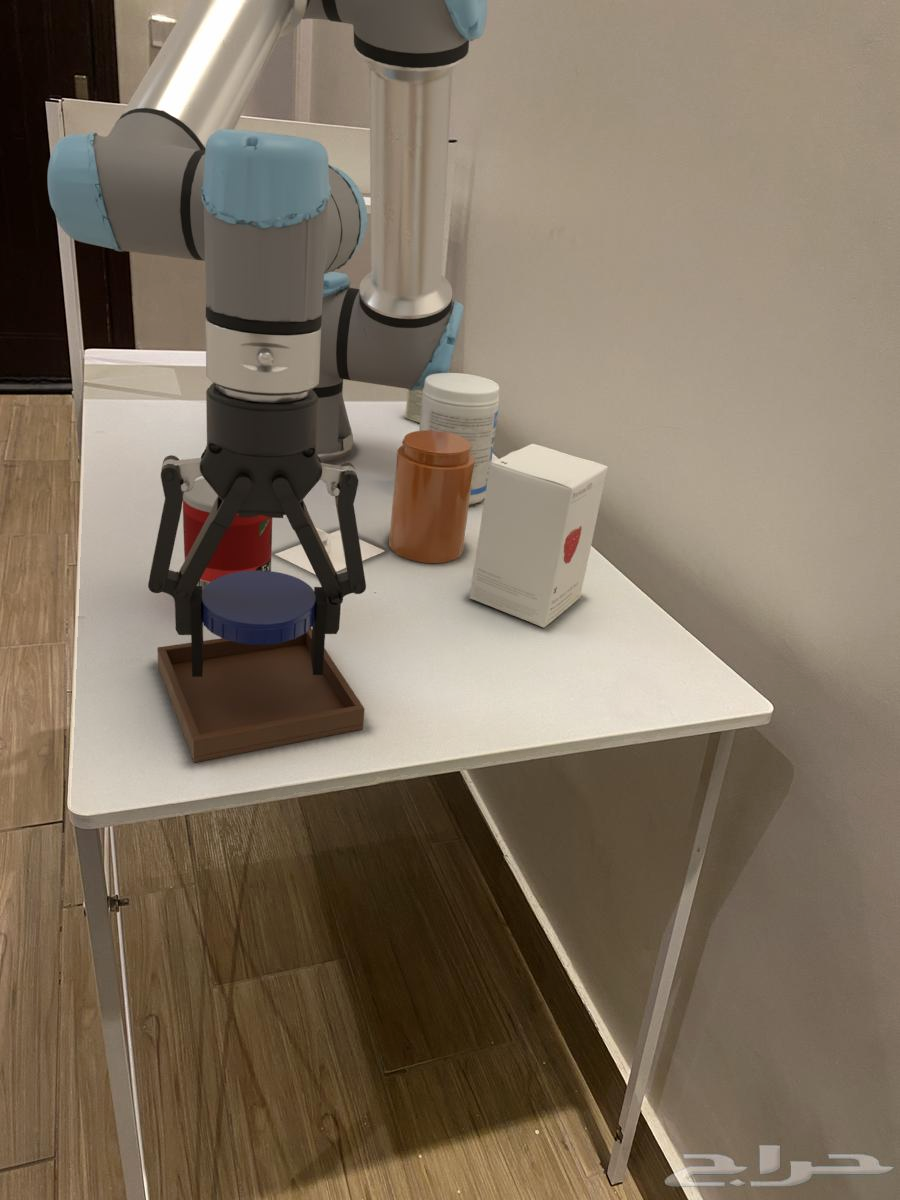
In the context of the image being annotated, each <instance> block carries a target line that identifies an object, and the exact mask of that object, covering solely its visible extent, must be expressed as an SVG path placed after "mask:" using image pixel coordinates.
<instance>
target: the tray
mask: <svg viewBox="0 0 900 1200" xmlns="http://www.w3.org/2000/svg"><path fill="white" fill-rule="evenodd" d="M311 645H312V627H311V628H310V629H309V631H307V632H306V633H305V634H303V635H301V636H300V637H297V638H295V639H293V640H290V641H286V642H283V643H277V644H269V645H250V644H242V643H237V642H233V641H229V640H226V639H223V638H221V637H219V638H214V639H206V640H203V673H202V677H192V646H191V642H185V643H179V644H171V645H165V646H158V647H157V649H156V651H157V668H158V670H159V673H160V676H161V679H162V681H163V684H164V686H165V689H166V691H167V695H168V697H169V700H170V702H171V705H172V708H173V710H174V713H175V716H176V718H177V721H178V724H179V726H180V729H181V732H182V734H183V737H184V740H185V742H186V745H187V748H188V750H189V753H190V755H191V758H192V761H193V763H198V762H203V761H208V760H213V759H218V758H219V759H220V758H224V757H228V756H229V757H230V756H233V755H239V754H243V753H248V752H254V751H259V750H264V749H269V748H274V747H280V746H285V745H290V744H293V743H298V742H305V741H309V740H315V739H320V738H325V737H330V736H334V735H339V734H345V733H350V732H354V731H360V730H364V718H365V707H364V706H363V704H362V702H361V701H360V699H359V698H358V697H357V695H356V693H355V692H354V690H353V689H352V688H351V686H350V684H349V683H348V682H347V680H346V679H345V677H344V675H343V673H342V672H341V670H340V669H339V667H338V666H337V665H336V663H335V662H334V660H333V659H332V657H331V656H330V654H329V653H328V652H327V649H326V648H325V647H324V661H323V675H313V669H312V661H311Z"/></svg>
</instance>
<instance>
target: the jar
mask: <svg viewBox="0 0 900 1200" xmlns="http://www.w3.org/2000/svg"><path fill="white" fill-rule="evenodd" d="M401 443H402V445H401V446H399V447H398V449H397V451H396V462H395V472H394V483H393V492H392V493H393V495H392V507H391V514H390V515H391V517H390V526H389V537H388V546H389V548H390V549H391V551H392V552H394V553H395V554H396V555H397V556H400V557H401V558H404V559H406V560H410V561H413V562H419V563H426V564H443V563H449V562H452V561H454V560H456V559H458V558H460V557H461V555H463V553H464V552H463V551H464V545H465V537H466V529H467V522H468V515H469V514H468V513H469V506H470V505H469V500H470V493H471V485H472V478H473V470H474V463H475V458H474V456H473V455H472V454H471V453H470V450H471V444H470V442H469V441H468V440H466V439H465V438H463V437H461V436H458V435H455V434H452V433H447V432H441V431H429V430H426V431H419V430H415V431H411V432H409V433H406V435H404V437H403V439H402V442H401Z"/></svg>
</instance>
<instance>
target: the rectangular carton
mask: <svg viewBox="0 0 900 1200" xmlns="http://www.w3.org/2000/svg"><path fill="white" fill-rule="evenodd" d="M608 468H609V467H608V465H605V464H602V463H599V462H597V461H592V460H589V459H585V458H582V457H578V456H575V455H571V454H569V453H565V452H562V451H559V450H556V449H552V448H550V447H546V446H543V445H540V444H537V443H530V444H528V445H526V446H524V447H521V448H520V449H517V450H513V451H511V452H509V453H508V454H506V455H504V456H502V457H500V458H498V459H496V460H492V462H491V463H490V468H489V474H488V481H487V487H486V494H485V498H484V499H483V500H484V501H483V507H482V514H481V522H480V525H479V526H480V527H479V534H478V539H477V544H476V545H477V547H476V552H475V558H474V559H475V560H474V566H473V571H472V580H471V585H470V590H469V591H470V593H469V599H471V600H474V601H476V602H478V603H481V604H483V605H486V606H489V607H491V608H494V609H495V610H498V611H501V612H504V613H506V614H508V615H510V616H514V617H516V618H518V619H520V620H523V621H527V622H529V623H531V624H534V625H536V626H539V627H541V628H546V627H547V626H548V625H550V623H552V622H553V621H554V620H555V619H557V618H558V617H559V616H560V615H562V614H563V613H564V612H565V611H567V610H568V609H569V608H570V607H571V606H573V604H575V603H576V602H577V601H578V600H579V599H580V598H581V595H582V590H583V586H584V580H585V576H586V573H587V567H588V562H589V557H590V552H591V549H592V544H593V539H594V534H595V529H596V524H597V519H598V515H599V509H600V505H601V500H602V496H603V492H604V486H605V482H606V478H607V472H608Z"/></svg>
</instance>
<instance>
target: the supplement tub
mask: <svg viewBox="0 0 900 1200" xmlns="http://www.w3.org/2000/svg"><path fill="white" fill-rule="evenodd" d="M499 406H500V386H499V384H498V383H496V382H495V381H494V380H491V379H489V378H486V377H483V376H480V375H474V374H468V373H462V372H461V373H460V372H450V373H437V374H432V375H429V376H428V377H426V379H425V384H424V388H423V394H422V405H421V416H420V423H419V429H418V431H426V430H429V431H441V432H447V433H452V434H455V435H458V436H461V437H463V438H465V439H466V440H468V441H469V442H470V444H471V450H470V453H471V454H472V455H473V456H474V458H475V463H474V470H473V478H472V485H471V493H470V500H469V506H471V505H474V504H477V503H479V502H482V501H483V500H485V494H486V487H487V481H488V474H489V468H490V463H491V462H493V453H494V446H495V445H494V444H495V439H496V438H495V437H496V432H497V431H496V430H497V421H498V414H499Z"/></svg>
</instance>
